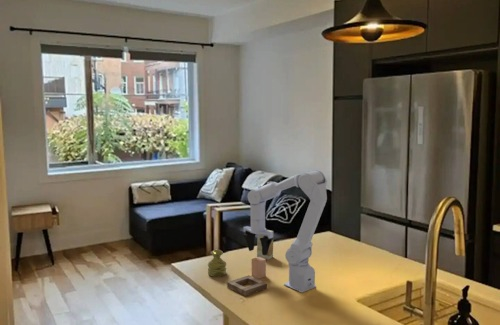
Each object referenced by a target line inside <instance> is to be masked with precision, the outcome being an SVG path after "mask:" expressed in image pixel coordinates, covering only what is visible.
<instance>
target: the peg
mask: <svg viewBox="0 0 500 325" xmlns="http://www.w3.org/2000/svg"><path fill="white" fill-rule="evenodd" d="M266 275H267V259H264V258H261V257H257V256H256V257H254V258H251V276H252V277H254V278H256V279H258V280H260V279H262V278H265V277H267V276H266Z"/></svg>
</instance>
